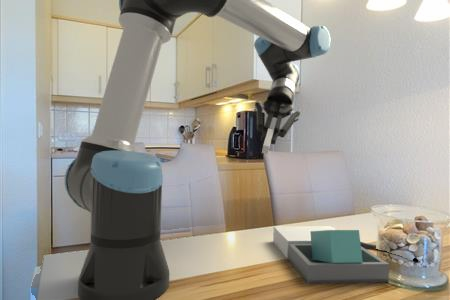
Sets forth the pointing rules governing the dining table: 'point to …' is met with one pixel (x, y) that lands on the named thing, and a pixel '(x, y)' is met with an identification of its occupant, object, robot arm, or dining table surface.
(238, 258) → the dining table surface
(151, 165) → the robot arm
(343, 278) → the tray
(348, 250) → the block
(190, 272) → the dining table surface
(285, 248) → the white flat box
